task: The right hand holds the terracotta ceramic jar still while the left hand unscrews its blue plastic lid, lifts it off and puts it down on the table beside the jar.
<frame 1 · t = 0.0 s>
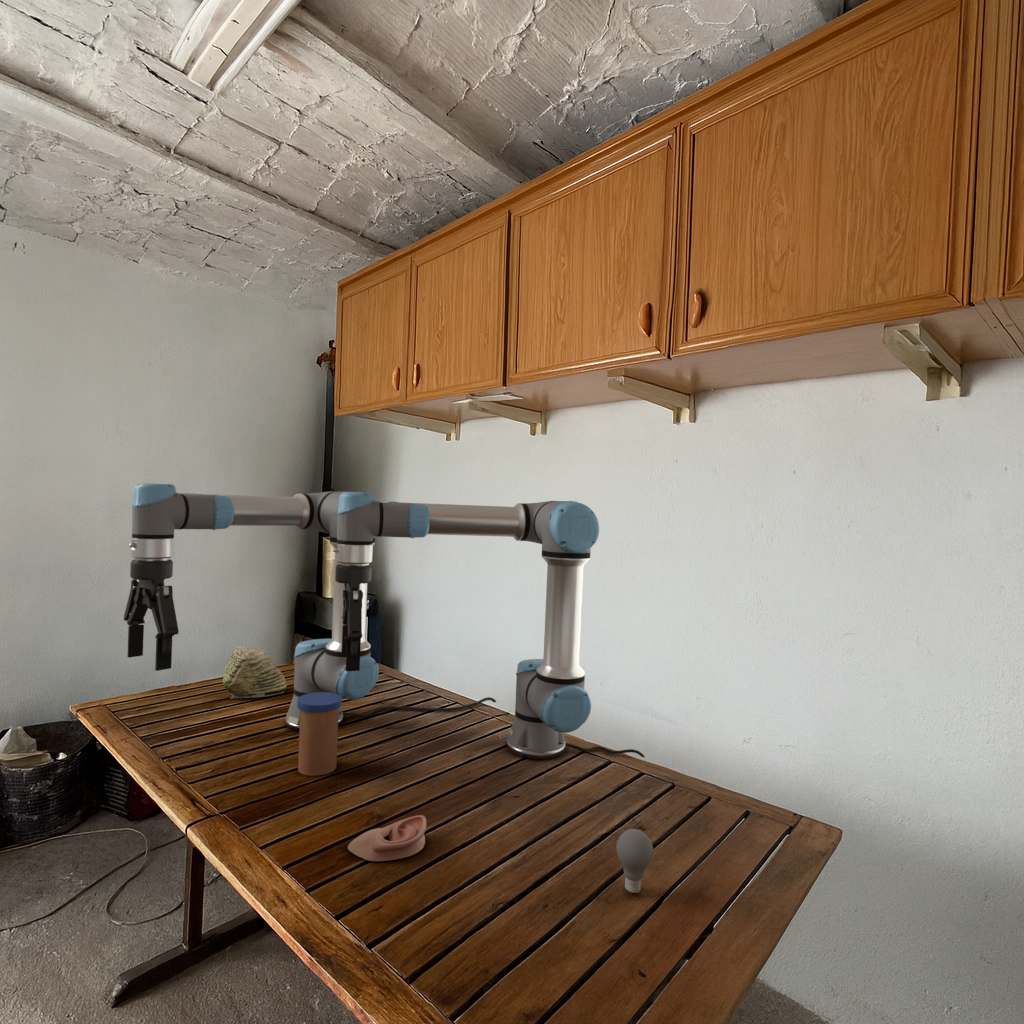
left hand: (148, 662, 129), 28 cm above the table, tool pointing down, fingers open, 13 cm apart
right hand: (350, 662, 136), 28 cm above the table, tool pointing down, fingers open, 13 cm apart
light bulb: (632, 891, 106), on the table
jar: (317, 767, 148), on the table
fossil: (254, 694, 198), on the table
anatomical model: (387, 846, 116), on the table
lid: (319, 700, 147), point 16 cm above the table, screwed on, not yet turned
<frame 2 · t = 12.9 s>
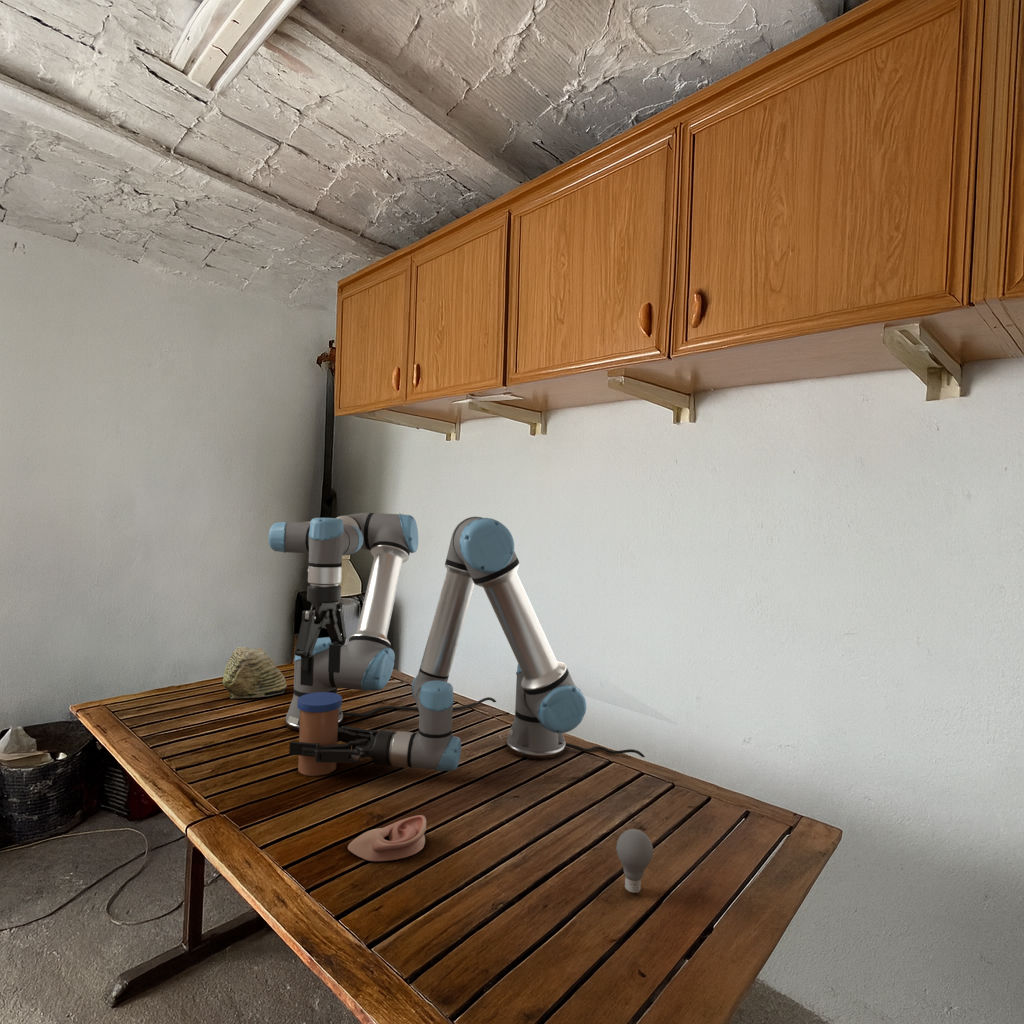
left hand: (320, 678, 147), 21 cm above the table, tool pointing down, fingers open, 11 cm apart
right hand: (299, 740, 148), 6 cm above the table, tool horizontal, fingers closed on jar, 9 cm apart
jar: (317, 767, 148), on the table, touching right hand
everything else where it was.
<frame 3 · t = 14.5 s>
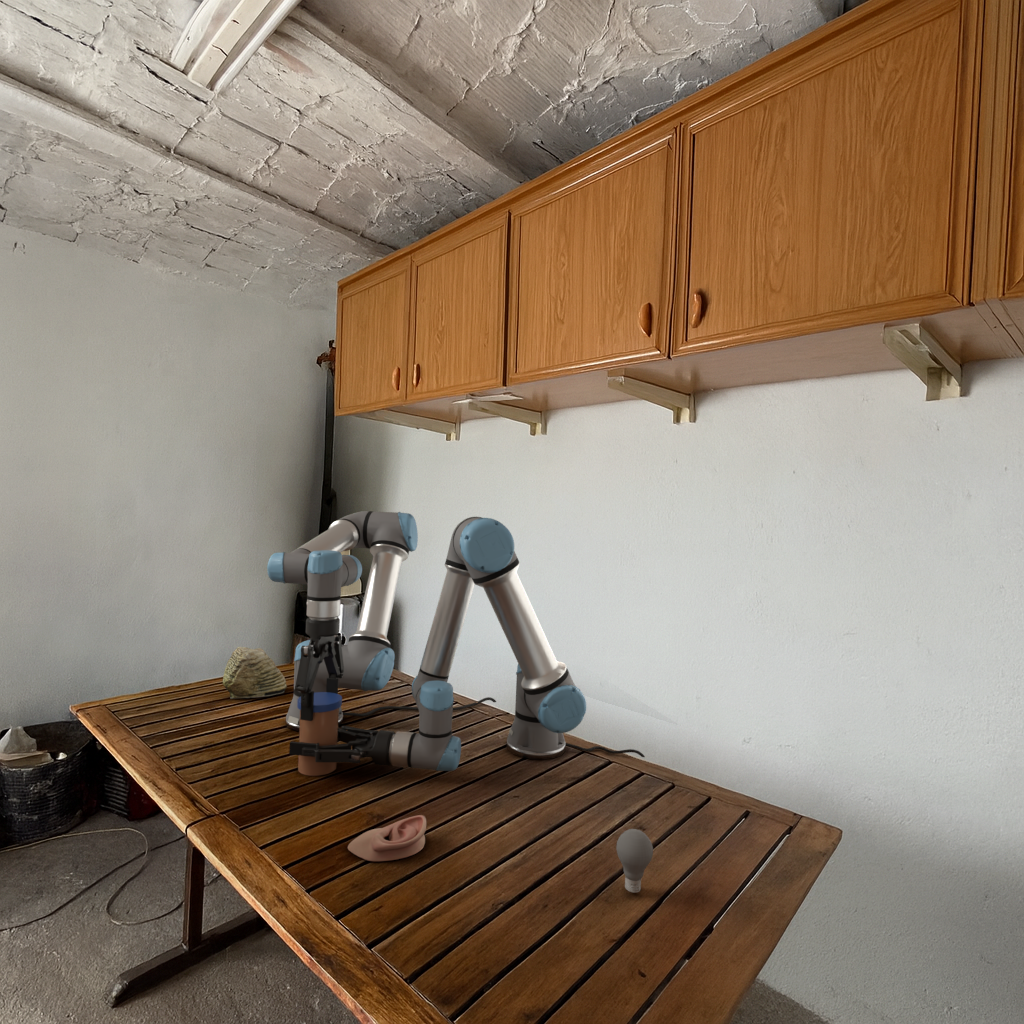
left hand: (319, 712, 148), 13 cm above the table, tool pointing down, fingers closed on lid, 10 cm apart
right hand: (299, 740, 148), 6 cm above the table, tool horizontal, fingers closed on jar, 9 cm apart
jar: (317, 767, 148), on the table, touching right hand
lid: (320, 700, 147), point 16 cm above the table, screwed on, not yet turned, touching left hand
everything else where it was.
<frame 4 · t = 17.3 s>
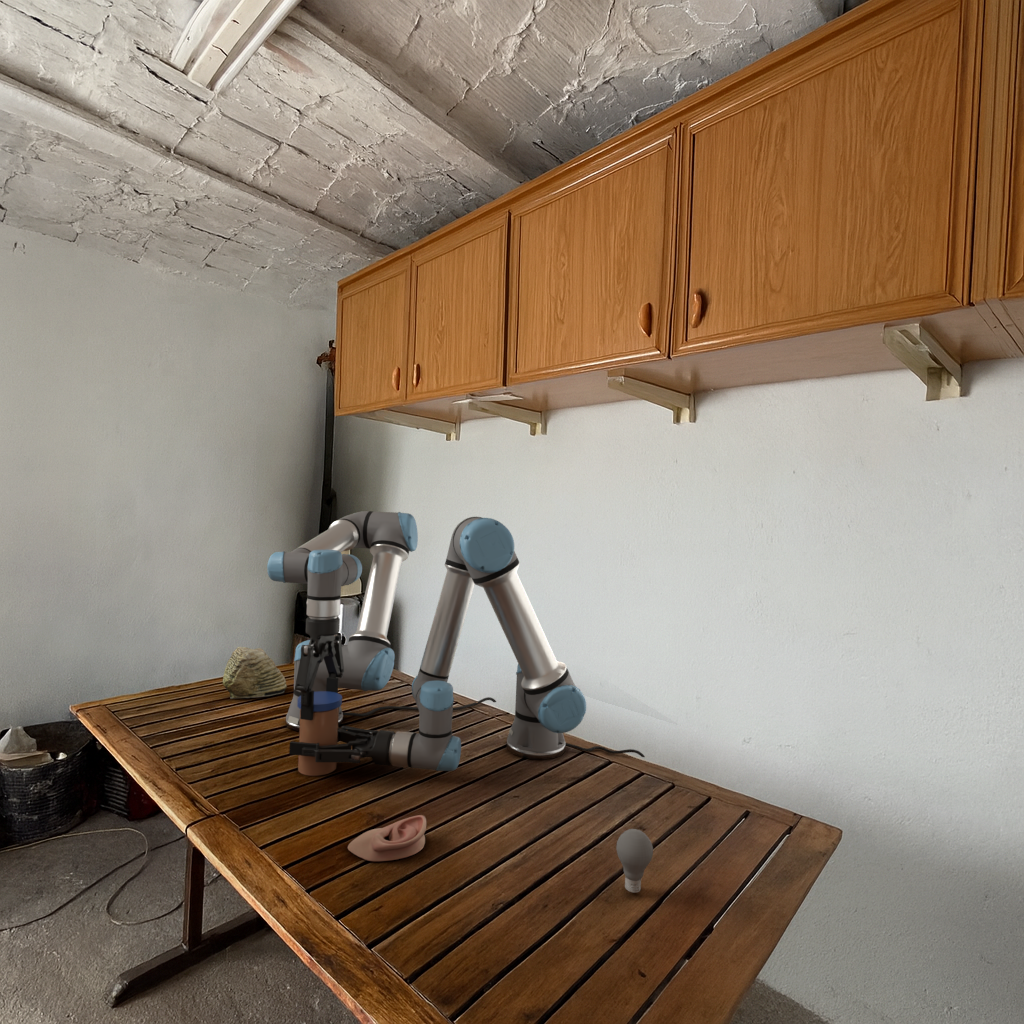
left hand: (319, 711, 148), 13 cm above the table, tool pointing down, fingers closed on lid, 10 cm apart
right hand: (299, 740, 148), 6 cm above the table, tool horizontal, fingers closed on jar, 9 cm apart
jar: (317, 767, 148), on the table, touching right hand
lid: (320, 699, 147), point 16 cm above the table, turned 70° so far, risen 0.2 cm, still on its thread, touching left hand
everything else where it was.
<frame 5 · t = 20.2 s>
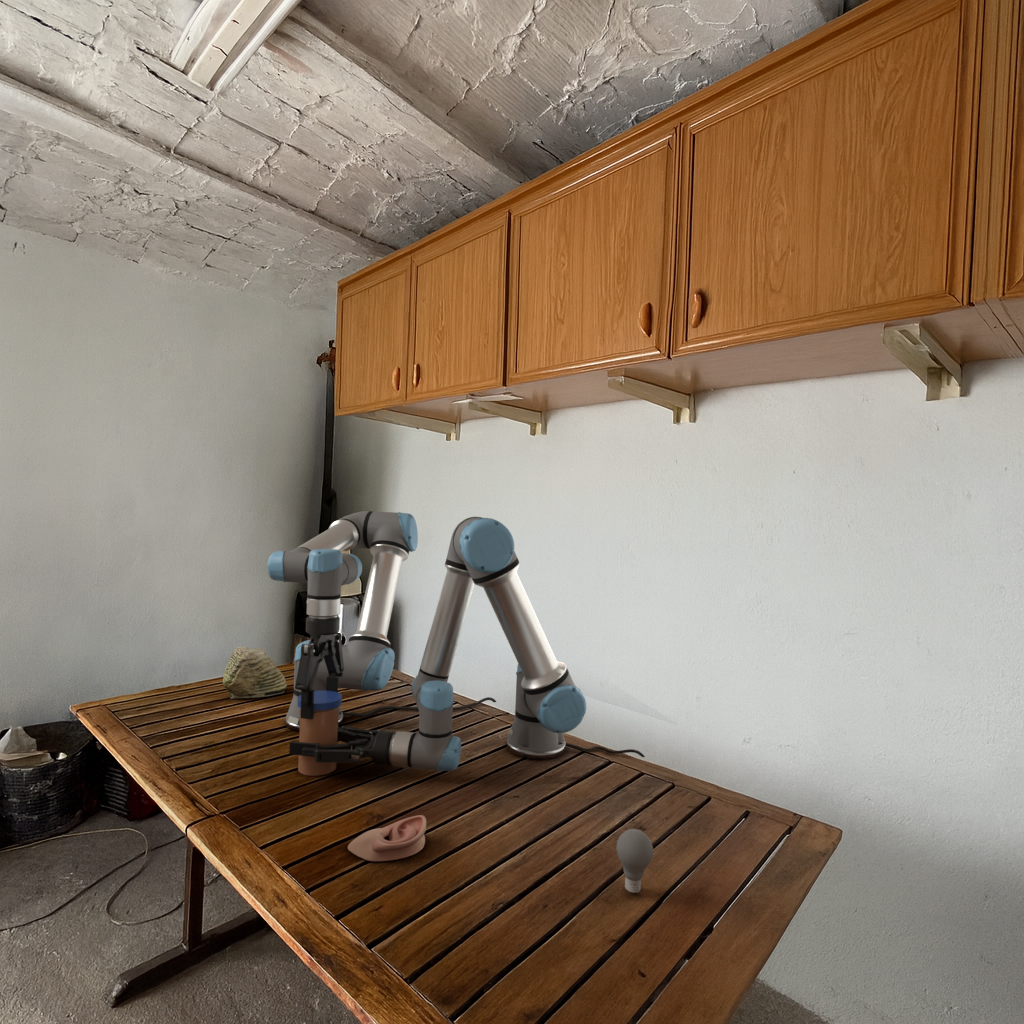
left hand: (319, 710, 148), 13 cm above the table, tool pointing down, fingers closed on lid, 10 cm apart
right hand: (299, 740, 148), 6 cm above the table, tool horizontal, fingers closed on jar, 9 cm apart
jar: (317, 767, 148), on the table, touching right hand
lid: (320, 698, 147), point 16 cm above the table, turned 141° so far, risen 0.4 cm, still on its thread, touching left hand
everything else where it was.
when the left hand's fingers open (0 cm above the table, at t = 27.8 s): lid drops 2 cm, point 1 cm above the table.
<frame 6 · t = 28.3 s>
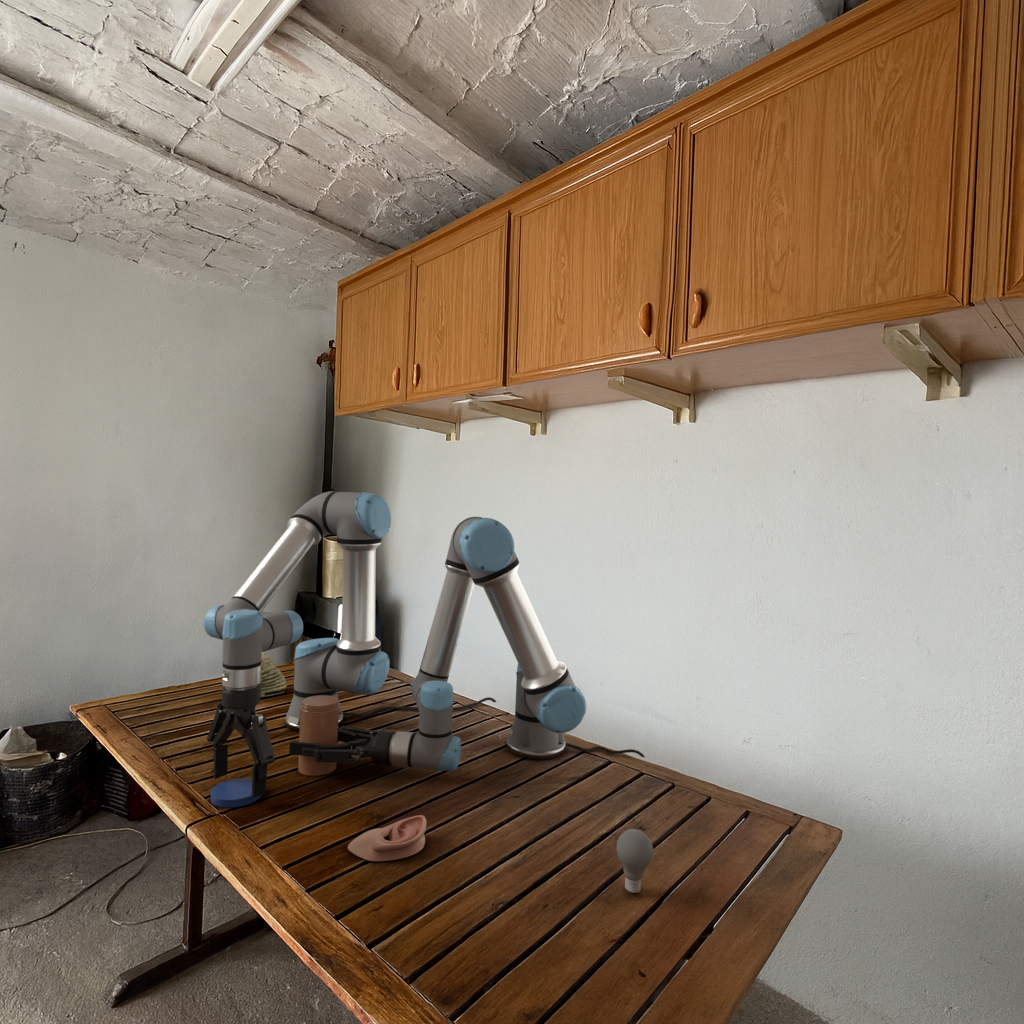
left hand: (238, 785, 133), 2 cm above the table, tool pointing down, fingers open, 13 cm apart
right hand: (299, 740, 148), 6 cm above the table, tool horizontal, fingers closed on jar, 9 cm apart
jar: (317, 767, 148), on the table, touching right hand
lid: (236, 790, 132), point 1 cm above the table, off its thread
everything else where it was.
when the right hand's fingers open (6 cm above the table, at t = 28.8 s): jar stays where it is, on the table.
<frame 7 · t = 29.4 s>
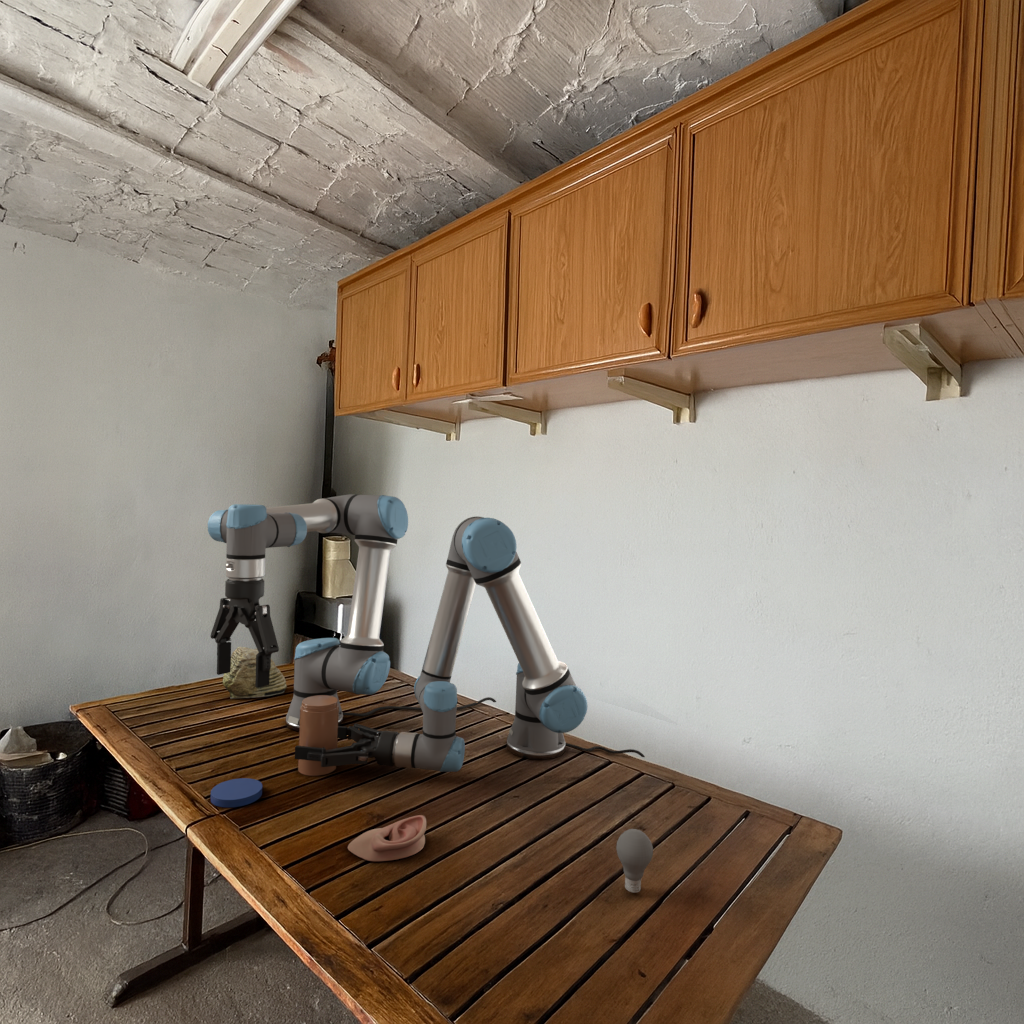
left hand: (242, 679, 132), 24 cm above the table, tool pointing down, fingers open, 13 cm apart
right hand: (308, 740, 148), 6 cm above the table, tool horizontal, fingers open, 13 cm apart
jar: (317, 767, 148), on the table
everything else where it was.
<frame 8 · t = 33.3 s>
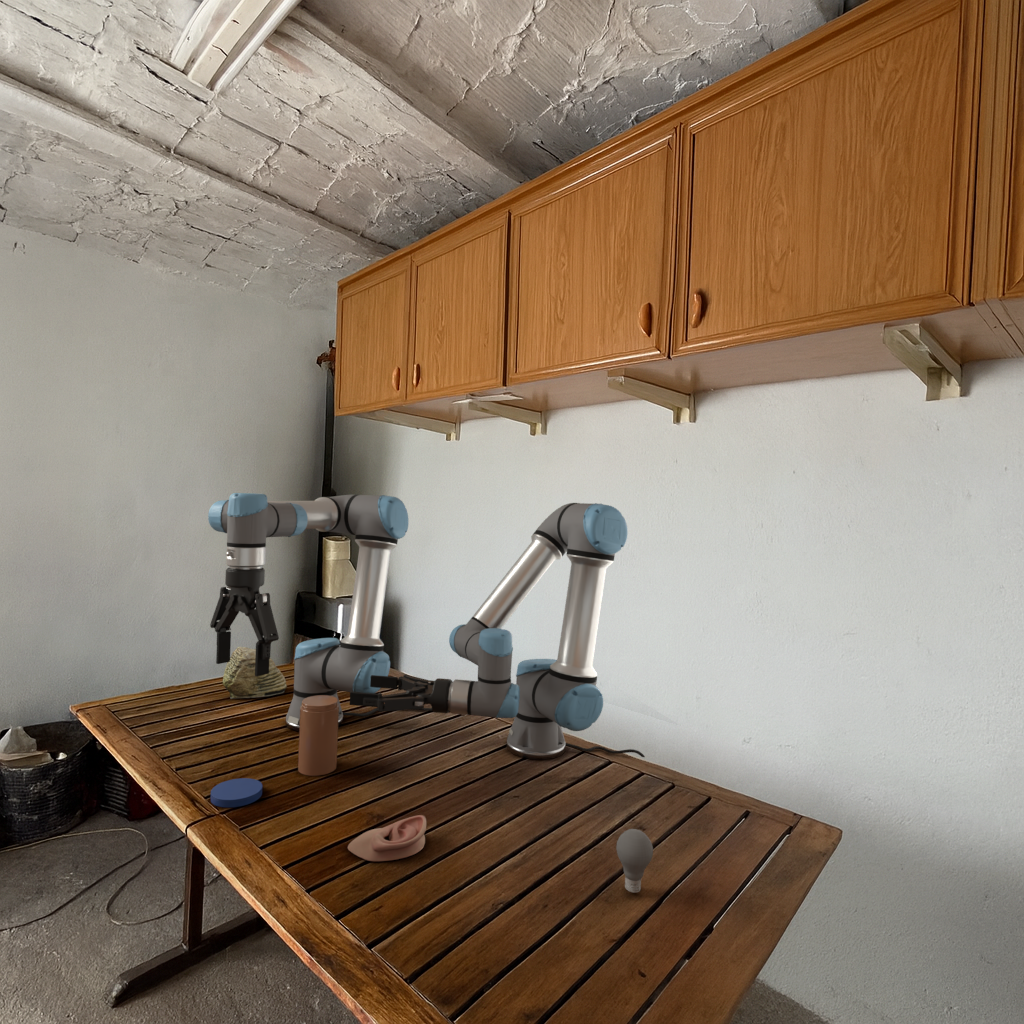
left hand: (241, 668, 132), 27 cm above the table, tool pointing down, fingers open, 13 cm apart
right hand: (360, 689, 146), 19 cm above the table, tool horizontal, fingers open, 13 cm apart
nothing on the table moved.
at the end: lid came off its thread; lid point 1.2 cm above the table; the left hand is holding nothing; the right hand is holding nothing; jar tilted 0°; jar moved 0.0 cm from its start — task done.
